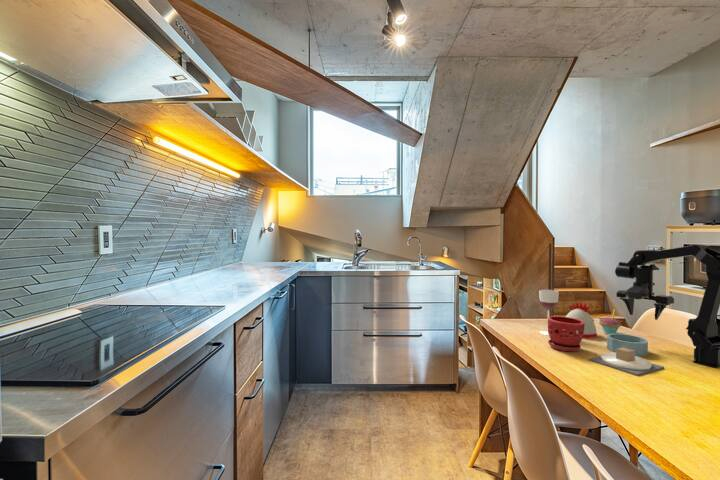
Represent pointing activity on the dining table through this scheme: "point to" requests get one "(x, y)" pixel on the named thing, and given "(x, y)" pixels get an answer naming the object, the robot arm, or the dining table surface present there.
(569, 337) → the plant pot
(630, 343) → the bowl
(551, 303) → the wineglass
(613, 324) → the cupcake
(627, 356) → the lid
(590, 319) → the kitchen timer
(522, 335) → the dining table surface
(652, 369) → the mat
